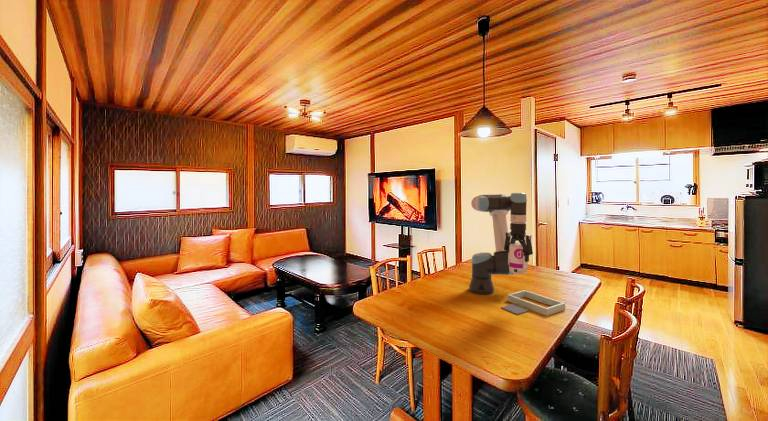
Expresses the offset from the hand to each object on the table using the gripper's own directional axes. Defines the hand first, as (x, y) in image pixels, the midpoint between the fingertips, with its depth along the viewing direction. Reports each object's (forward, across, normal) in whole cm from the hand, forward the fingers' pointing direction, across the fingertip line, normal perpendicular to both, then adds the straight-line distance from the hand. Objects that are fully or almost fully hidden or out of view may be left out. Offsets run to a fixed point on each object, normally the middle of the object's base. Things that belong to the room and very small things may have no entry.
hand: (517, 265), depth 158 cm
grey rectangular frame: (+23, +1, +13) cm, 27 cm away
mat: (+23, 0, -1) cm, 23 cm away
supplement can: (+3, 0, 0) cm, 3 cm away
